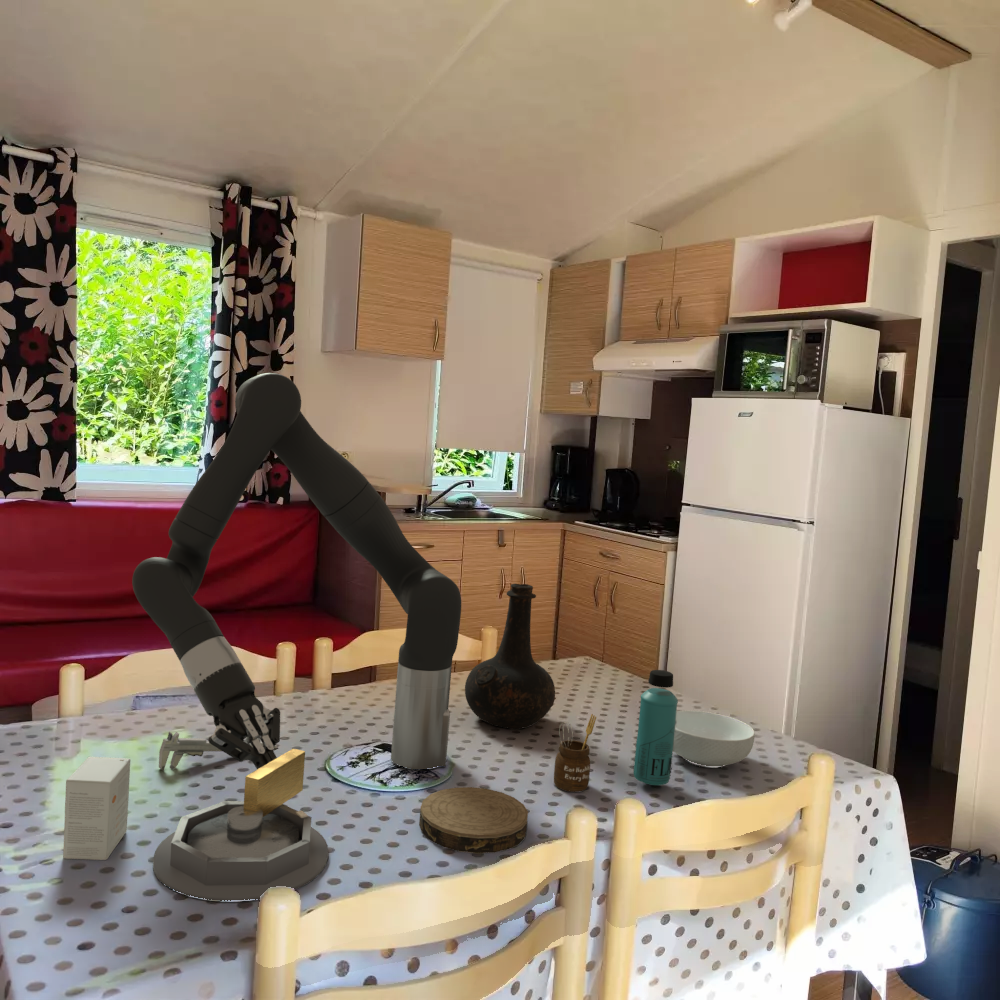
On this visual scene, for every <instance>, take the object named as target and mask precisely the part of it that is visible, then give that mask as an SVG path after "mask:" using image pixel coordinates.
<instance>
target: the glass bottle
mask: <svg viewBox="0 0 1000 1000" xmlns="http://www.w3.org/2000/svg"><path fill="white" fill-rule="evenodd" d="M533 590H534V586H532V585H531V584H527V583H524V584H523V583H522V584H521V583H520V584H519V583H511V585H510V589H509V590H507V592H506V596H508V597H509V602H508V609H507V614H506V621H505V626H504V629H503V635H502V639H501V642H500V645H499V647H498V651H497V652H496V654H495V655H494V656H493V657H492V658H489V659H486V660H483V661H481V662H479V663H477V664H476V666H474V667H473V668H472V669H471V671H469V674H468V675H467V677H466V680H465V683H464V695H465V700H466V702H467V705H468V706H469V708H470V710H471V711H472V712H473V713H474V714H475V716H476V717H478V719H480V720H481V721H484V722H486V723H487V724H489V725H492V726H495V727H499V728H502V727H503V729H510V728H511V729H512V730H513V729H514V730H518V729H519V728H520V729H525V728H529V727H531V726H533V725H535V724H536V723H538V722H540V721H541V720H542V719H543V718H544V717H545V716H546V715H547V714H548V713H549V711H550V710H551V708H552V707H553V706H554V702H555V700H556V687H555V683H554V680H553V678H552V676H551V675H550V673H549V672H548V671H547V670H546V669H545V668H543V667H542V666H541V665H540V664H538V663H536V662H535V661H534V658H533V655H532V647H531V622H532V621H531V617H532V616H531V615H532V599H535V598H537V595H536V594H534V593H533Z"/></svg>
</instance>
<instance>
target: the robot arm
mask: <svg viewBox="0 0 1000 1000" xmlns="http://www.w3.org/2000/svg"><path fill="white" fill-rule="evenodd" d="M300 393H301V392H300V391H299V389H298V386H297V385H296V383H294V382H293V380H291V379H290V378H289V377H287V376H285V375H284V374H280V373H276V372H273V373H272V372H266V373H261V374H258V375H255V376H252V377H251V378H249V379H247V380H246V381H244V382H243V383H242V384H241V385H240V386H239V387H238V390H237V392H236V395H235V400H234V404H235V405H234V406H235V411H236V414H237V415H236V417H235V420H234V422H233V425H232V427H231V429H230V431H229V433H228V436H227V438H226V440H225V441H224V443H223V445H221V448H220V449H219V451H218V453H217V454H216V456H215V457H214V459H213V460H212V462H211V463H210V464H209V465H208V466H207V468H206V469H205V471H204V472H203V473H202V475H201V476H200V478H199V479H198V480H197V482H196V483H195V485H194V486H193V487H192V489H191V490H190V491H189V493H188V495H187V497H186V498H185V500H184V501H183V503H182V505H181V507H180V509H179V510H178V512H177V514H176V515H175V517H174V519H173V520H172V522H171V525H170V527H169V529H168V537H169V539H170V540H171V541H172V543H171V547H170V550H169V552H168V554H167V557H166V558H165V557H161V556H159V557H157V556H154V557H153V556H152V557H150V558H146V559H144V560H142V561H141V562H140V563H139V564H138V565H137V566H136V567H135V569H134V571H133V574H132V580H131V581H132V582H131V583H132V589H133V593H134V595H135V597H136V599H137V601H138V603H139V604H140V606H141V607H142V609H143V610H144V611H145V613H147V615H148V616H149V618H150V619H151V620H152V622H153V623H155V625H156V626H157V627H158V628H159V630H161V632H163V634H164V635H165V636H166V638H167V640H168V642H169V644H170V646H171V648H172V650H173V651H174V654H175V655H176V657H177V659H178V660H179V663H180V665H181V668H182V669H183V672H184V675H185V677H186V679H187V681H188V682H189V684H190V686H191V688H192V689H193V691H194V693H195V695H196V697H197V698H198V700H199V702H200V704H201V706H202V707H203V709H204V711H205V713H206V714H207V715H208V716H209V717H212V718H213V724H214V726H215V730H214V732H213V734H211V735H210V736H209V737H208V739H207V741H209V743H210V744H212V745H213V746H215V747H217V748H218V749H220V750H221V751H220V752H223V753H225V754H227V755H228V756H230V757H231V758H233V759H235V760H236V761H238V762H240V763H242V762H244V761H249V762H250V763H253V765H254V767H255V768H256V770H257V769H259V768H261V767H262V766H264V765H266V764H268V763H269V762H271V761H273V760H274V759H276V758H278V757H277V756H276V753H275V752H274V749H273V748H274V746H275V745H276V746H277V744H278V743H279V742H280V740H281V738H280V737H281V710H280V708H277V707H275V708H273V709H269V708H266V707H264V704H263V703H262V701H260V700H259V699H258V698H257V696H256V695H255V690H256V686H255V684H254V682H253V681H252V679H251V677H250V675H249V673H248V672H247V670H246V669H245V667H244V665H243V662H241V660H240V658H239V656H238V655H237V652H236V651H235V650H234V648H233V647H232V645H231V644H230V643H229V642H228V640H227V639H226V637H225V636H224V634H223V631H222V630H221V629H220V627H219V626H218V623H217V622H216V620H215V618H214V617H213V616H212V614H211V613H210V612H209V610H207V609H206V608H205V607H203V606H202V605H200V604H199V603H198V602H197V601H196V600H195V598H194V597H195V595H196V593H197V592H198V590H199V588H200V586H201V584H202V581H203V579H204V575H205V572H206V571H207V566H208V564H209V560H210V558H211V557H210V556H211V554H212V550H213V548H214V546H215V545H216V543H217V541H218V540H219V538H220V536H221V535H222V532H223V530H224V529H225V528H226V526H227V524H228V522H229V521H230V519H231V517H232V515H233V513H234V511H235V510H236V507H237V506H238V504H239V502H240V501H241V498H243V497H242V496H243V495H244V493H245V491H246V489H247V488H248V486H249V484H250V482H251V480H252V478H253V477H254V475H255V474H256V472H257V471H258V469H259V468H260V465H262V463H263V462H264V460H265V458H267V456H268V454H269V453H270V452H271V451H272V452H273V453H274V454H275V455H276V457H277V458H278V459H280V461H281V462H282V463H283V464H284V466H286V467H287V469H288V471H290V473H291V475H292V476H293V477H294V479H295V480H296V481H297V483H298V485H299V486H300V487H301V489H302V490H303V491H304V493H305V494H306V495H307V497H308V498H309V499H310V500H311V502H312V503H313V504H314V505H315V507H316V508H317V509H318V511H319V512H320V514H321V515H322V516H323V517H324V518H325V520H327V521H328V523H329V524H330V525H331V527H332V528H334V530H335V531H336V532H337V533H338V534H339V535H340V536H341V537H342V538H343V540H345V542H347V543H348V545H350V547H352V549H354V550H355V551H356V552H357V553H358V554H359V555H360V556H362V558H363V559H365V560H366V561H367V562H368V563H370V565H371V566H372V567H373V568H374V569H375V570H376V571H377V573H378V574H379V575H380V577H381V578H382V579H383V580H384V582H385V583H386V585H387V587H388V588H389V589H390V590H391V592H392V594H393V595H394V598H395V599H396V600H397V602H398V603H399V605H400V607H401V608H402V609H403V611H404V612H405V613H406V614H407V616H406V617H407V619H406V630H405V638H404V642H403V643H402V644H401V645H400V647H399V648H398V649H399V650H398V659H397V661H398V662H397V673H396V687H395V700H394V714H393V726H392V741H391V749H390V750H391V753H390V754H391V755H390V760H391V759H392V760H391V762H392V761H393V762H394V763H396V764H398V765H400V766H403V767H407V768H411V769H410V770H413V769H427V768H433V767H437V766H447V758H448V757H447V756H448V754H447V753H448V745H449V744H448V742H449V730H450V719H451V718H450V717H451V712H450V709H449V706H450V705H449V704H450V691H451V682H452V681H451V680H452V670H453V669H452V666H453V657H454V654H455V653H456V650H457V648H458V644H459V643H458V641H459V633H460V624H461V615H462V595H461V591H460V589H459V586H458V585H457V584H456V582H455V581H453V580H452V579H451V578H450V577H448V576H447V575H445V574H443V573H442V572H441V571H439V570H437V569H436V568H435V567H434V566H432V564H431V563H430V562H428V561H427V560H426V559H425V558H424V557H423V556H422V555H421V554H420V553H419V552H418V551H417V550H416V548H415V547H414V546H413V545H412V544H411V543H410V542H409V540H408V539H407V538H406V536H405V534H404V533H403V531H402V529H401V527H400V526H399V524H398V522H397V520H396V518H395V517H394V515H393V513H392V511H391V509H390V508H389V506H388V505H387V503H386V502H385V500H384V499H383V497H382V496H381V495H380V493H378V491H377V490H376V489H375V488H374V487H373V485H372V483H370V481H369V480H368V479H367V477H366V476H365V475H364V474H363V473H362V472H361V471H360V470H359V469H358V468H357V467H356V466H354V464H352V462H350V461H349V460H348V459H346V458H345V457H344V456H343V455H342V454H341V453H339V452H338V451H337V450H336V449H335V448H333V447H332V446H331V445H330V444H328V443H327V442H326V441H325V440H324V439H323V438H322V437H321V436H320V435H319V434H318V432H317V431H316V430H315V429H314V428H313V426H312V425H311V424H310V422H309V421H308V419H307V418H306V417H305V415H304V414H303V413H302V411H301V409H302V396H301V394H300ZM260 741H262V743H263V746H262V744H261V743H260ZM250 745H252V746H253V747H252V746H250ZM236 748H238V749H239V750H241V751H239V750H237V749H236ZM393 762H392V763H393ZM394 763H393V764H394ZM396 764H395V765H396ZM400 766H399V767H400ZM403 767H402V768H403ZM437 768H438V767H437Z"/></svg>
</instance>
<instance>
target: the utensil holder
mask: <svg viewBox="0 0 1000 1000" xmlns="http://www.w3.org/2000/svg"><path fill="white" fill-rule="evenodd" d="M596 719H597V716H596V715H594V714H593V713H591V715H590V717H589V720H588V723H587V727H586V729H585V732H586V736H585V738H584V741H580V740H574V738H571V739H570V738H568V739H566V740H565V736H564V735H565V732H564V729H565V726H564V725H566V726H567V732H570V731H569V727H568V726H570V728H571V729H573V727H572V724H571V723H570V722H567V721H563V722H560V725H559V726H558V733H559V736H561V732H560V729H561V726H562V735H563V739H564V740H562V739H561V738H559V740H560V743H559V745H558V747H557V748H558V750H557V751H558V752H557V754H556V756H555V761H554V767H553V768H554V770H553V784H554V787H555V786H556V788H557V789H558V790H559V789H560V790H562V791H564V792H568V793H569V792H570V793H580V792H584V791H585V790H586V789H587V788H588V787H589V782H590V776H591V775H590V773H591V759H590V756H589V755H590V752H591V750H590V746H589V745H588V743H587V742H588V740H589V736H590V735H592V734H593V731H594V726H595V723H596ZM573 734H574V733H573V731H571V736H574V735H573Z"/></svg>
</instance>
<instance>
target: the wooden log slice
mask: <svg viewBox="0 0 1000 1000" xmlns="http://www.w3.org/2000/svg"><path fill="white" fill-rule="evenodd" d="M419 811H420V812H419V822H418V826H419V829H420V832H421V834H423V836H425V838H426V839H428V841H430V842H432V843H434V844H436V845H438V846H440V847H442V848H444V849H445V848H446V849H448V850H453V851H456V852H460V853H469V854H495V853H500V852H504V851H507V850H508V851H509V850H510V849H511V850H512V849H513V848H515V847H516V846H519V845H520V844H522V842H523V841H524V840H525V839H526V838H527V827H528V819H529V818H528V817H529V811H528V809H527V808H526V806H525V805H524V803H522V802H521V801H520V800H518V799H517V798H515V797H513V796H512V795H508V794H507V793H504V792H502V791H499V790H493V789H490V788H484V787H483V788H482V787H475V786H465V787H459V786H457V787H451V788H450V787H449V788H444V789H440V790H438V791H435V792H432V793H430V794H429V795H428V796H426V798H424V799H422V801H421V805H420V809H419Z"/></svg>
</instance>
